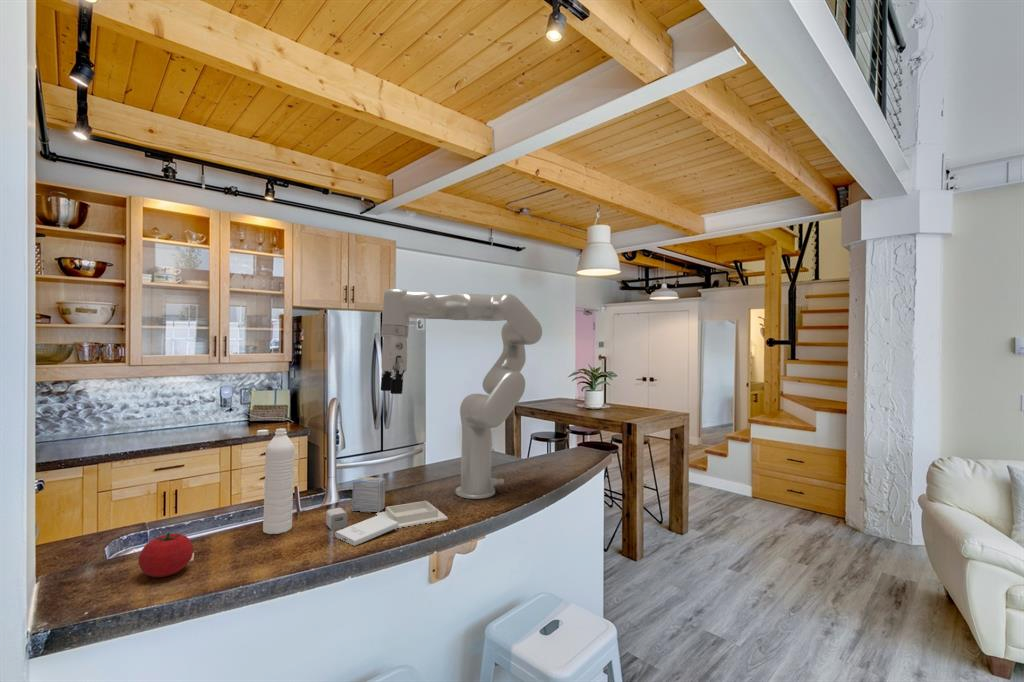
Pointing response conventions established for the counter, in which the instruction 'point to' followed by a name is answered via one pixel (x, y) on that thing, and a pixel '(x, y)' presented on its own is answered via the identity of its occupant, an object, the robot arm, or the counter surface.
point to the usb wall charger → (336, 518)
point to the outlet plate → (413, 514)
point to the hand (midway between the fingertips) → (391, 392)
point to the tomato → (165, 555)
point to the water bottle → (278, 483)
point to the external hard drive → (366, 530)
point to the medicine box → (368, 494)
